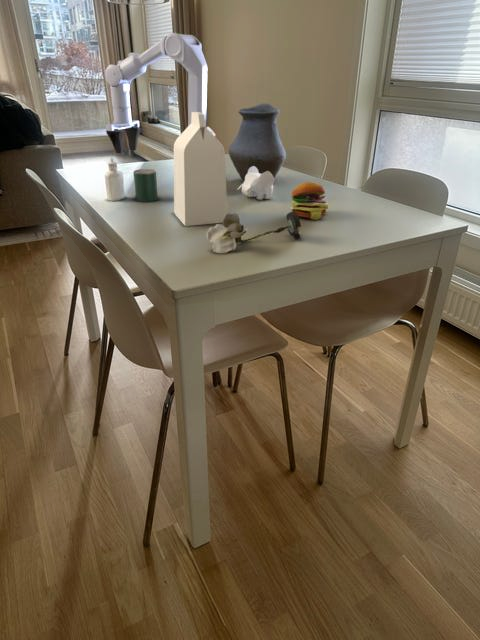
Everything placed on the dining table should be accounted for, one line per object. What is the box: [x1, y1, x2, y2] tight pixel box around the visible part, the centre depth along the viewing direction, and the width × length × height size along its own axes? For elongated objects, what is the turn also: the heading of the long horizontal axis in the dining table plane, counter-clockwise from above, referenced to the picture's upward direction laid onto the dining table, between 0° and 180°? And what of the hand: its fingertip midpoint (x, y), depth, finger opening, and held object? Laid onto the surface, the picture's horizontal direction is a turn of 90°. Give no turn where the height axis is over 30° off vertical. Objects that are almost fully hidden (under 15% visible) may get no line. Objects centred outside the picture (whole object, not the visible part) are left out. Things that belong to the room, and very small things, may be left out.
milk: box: [173, 112, 228, 227], centre depth 117 cm, size 12×12×26 cm
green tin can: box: [132, 168, 158, 203], centre depth 137 cm, size 7×7×8 cm
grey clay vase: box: [228, 103, 287, 182], centre depth 158 cm, size 21×22×25 cm
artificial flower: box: [206, 210, 302, 254], centre depth 104 cm, size 9×22×10 cm, turn 109°
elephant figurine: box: [236, 166, 276, 201], centre depth 140 cm, size 10×12×9 cm
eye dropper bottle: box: [104, 157, 126, 202], centre depth 136 cm, size 4×6×12 cm
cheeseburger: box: [290, 181, 329, 221], centre depth 126 cm, size 10×11×10 cm
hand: (126, 151), depth 154 cm, fingers open, 7 cm apart
